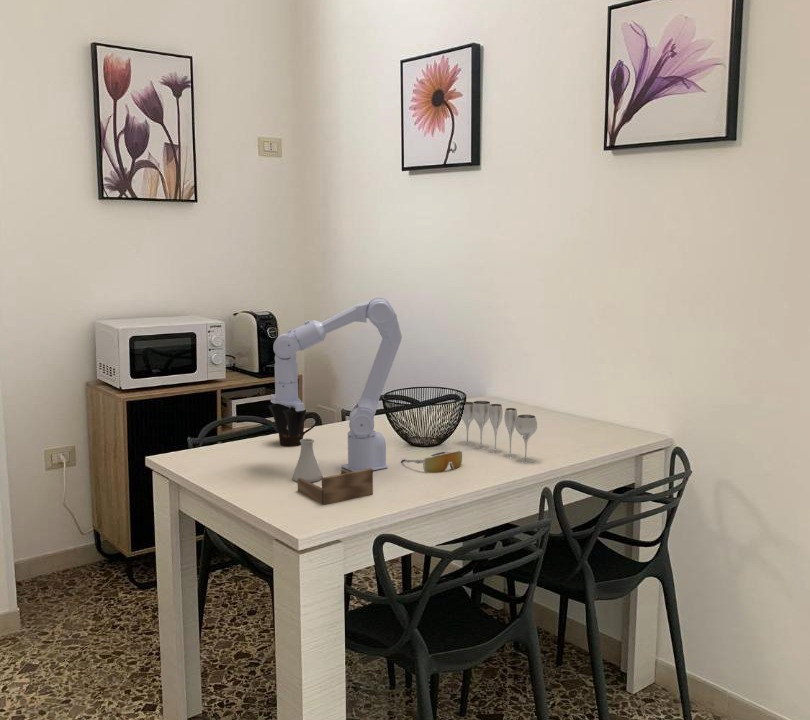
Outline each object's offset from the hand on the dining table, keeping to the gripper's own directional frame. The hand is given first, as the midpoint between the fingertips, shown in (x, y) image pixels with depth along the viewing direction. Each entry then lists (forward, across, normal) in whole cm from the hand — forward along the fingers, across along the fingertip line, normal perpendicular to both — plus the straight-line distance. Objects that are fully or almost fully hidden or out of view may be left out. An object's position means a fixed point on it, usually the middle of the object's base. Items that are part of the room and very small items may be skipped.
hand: (287, 434), depth 211 cm
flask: (+10, +10, 0) cm, 14 cm away
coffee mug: (+10, -22, +14) cm, 28 cm away
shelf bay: (+9, +23, 0) cm, 25 cm away
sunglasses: (+10, +18, +33) cm, 39 cm away
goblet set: (+10, +18, +55) cm, 59 cm away
